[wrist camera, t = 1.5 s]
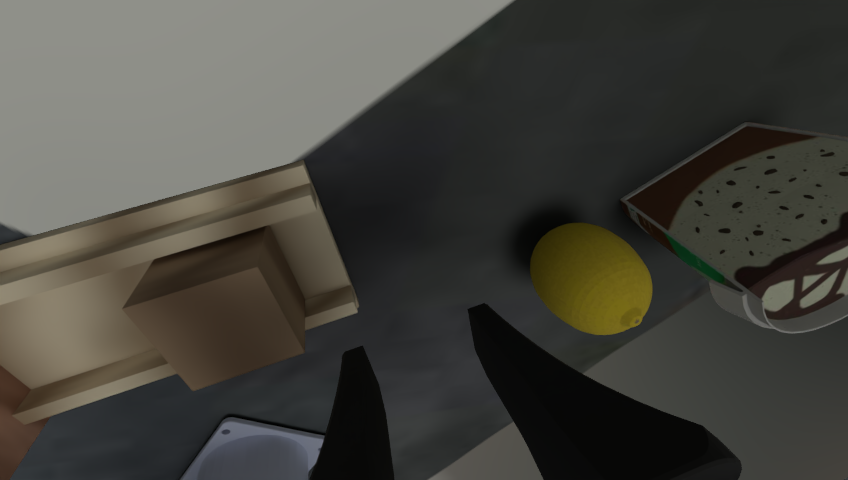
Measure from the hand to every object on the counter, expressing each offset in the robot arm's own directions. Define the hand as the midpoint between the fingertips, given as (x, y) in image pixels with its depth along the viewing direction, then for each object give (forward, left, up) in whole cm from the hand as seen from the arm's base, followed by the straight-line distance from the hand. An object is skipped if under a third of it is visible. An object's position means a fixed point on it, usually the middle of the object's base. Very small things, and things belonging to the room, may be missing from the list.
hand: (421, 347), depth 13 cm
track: (-9, +8, -9) cm, 15 cm away
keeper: (-6, +5, -8) cm, 11 cm away
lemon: (+5, -10, -10) cm, 15 cm away
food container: (+13, -17, -10) cm, 23 cm away
